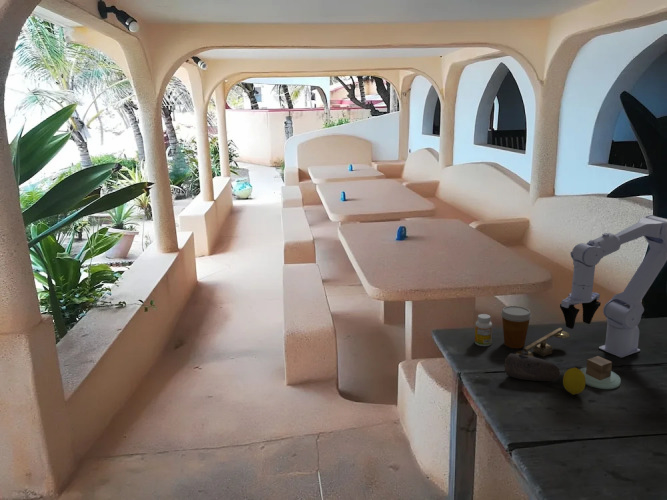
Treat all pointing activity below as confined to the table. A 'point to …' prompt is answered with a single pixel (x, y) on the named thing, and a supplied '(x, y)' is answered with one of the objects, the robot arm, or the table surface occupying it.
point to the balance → (543, 344)
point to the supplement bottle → (483, 330)
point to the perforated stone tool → (530, 368)
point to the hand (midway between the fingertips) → (578, 325)
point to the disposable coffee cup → (515, 325)
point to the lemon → (574, 381)
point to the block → (598, 367)
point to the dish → (602, 381)
